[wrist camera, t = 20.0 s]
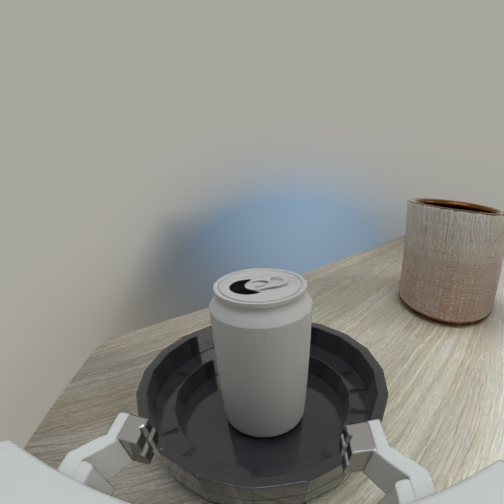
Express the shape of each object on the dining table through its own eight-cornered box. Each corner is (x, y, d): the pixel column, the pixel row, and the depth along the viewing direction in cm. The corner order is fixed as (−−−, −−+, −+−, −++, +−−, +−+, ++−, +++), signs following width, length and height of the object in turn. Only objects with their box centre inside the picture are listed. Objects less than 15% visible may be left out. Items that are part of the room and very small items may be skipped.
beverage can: (221, 395, 22) (202, 271, 19) (288, 381, 23) (290, 260, 20) (234, 449, 16) (211, 313, 13) (316, 429, 17) (333, 293, 14)
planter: (490, 292, 35) (502, 208, 30) (489, 339, 23) (516, 220, 19) (412, 275, 47) (418, 196, 43) (382, 310, 36) (391, 201, 32)
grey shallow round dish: (139, 507, 10) (108, 478, 9) (172, 360, 28) (163, 323, 27) (405, 474, 11) (432, 438, 10) (333, 346, 29) (337, 308, 28)
